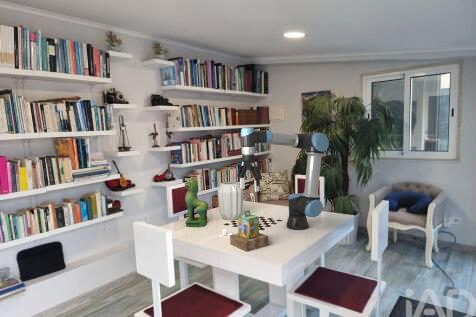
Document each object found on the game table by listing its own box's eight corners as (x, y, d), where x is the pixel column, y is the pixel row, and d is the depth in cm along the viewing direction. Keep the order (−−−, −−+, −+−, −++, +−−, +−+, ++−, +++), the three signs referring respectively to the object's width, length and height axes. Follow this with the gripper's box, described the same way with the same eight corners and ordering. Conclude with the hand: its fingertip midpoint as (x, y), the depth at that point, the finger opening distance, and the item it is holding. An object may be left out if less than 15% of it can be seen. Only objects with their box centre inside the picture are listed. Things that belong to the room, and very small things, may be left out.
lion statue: (187, 222, 248) (186, 175, 246) (209, 222, 247) (208, 175, 244) (183, 227, 235) (181, 178, 232) (206, 227, 234) (205, 177, 231)
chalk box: (249, 239, 188) (249, 213, 187) (237, 236, 195) (237, 211, 193) (259, 235, 195) (259, 210, 194) (248, 232, 201) (247, 208, 200)
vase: (234, 222, 244) (234, 185, 242) (213, 219, 254) (212, 184, 252) (248, 216, 260) (247, 182, 258) (227, 214, 270) (226, 180, 268)
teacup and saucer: (234, 235, 214) (234, 229, 214) (226, 239, 209) (225, 232, 208) (224, 233, 220) (224, 227, 220) (216, 236, 214) (216, 230, 214)
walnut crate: (251, 239, 207) (251, 229, 207) (269, 246, 194) (268, 236, 193) (229, 245, 198) (229, 235, 197) (246, 252, 184) (246, 242, 184)
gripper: (230, 153, 203) (232, 188, 205) (257, 155, 183) (258, 193, 185) (240, 153, 208) (241, 186, 209) (267, 154, 188) (268, 191, 190)
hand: (249, 190), depth 197 cm, fingers open, 13 cm apart
